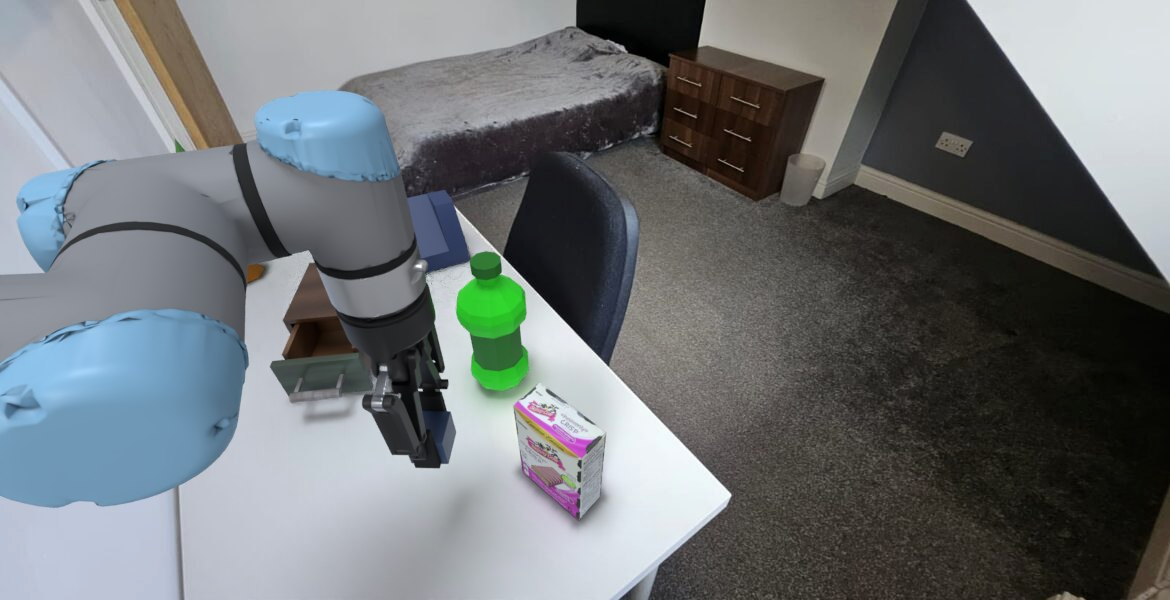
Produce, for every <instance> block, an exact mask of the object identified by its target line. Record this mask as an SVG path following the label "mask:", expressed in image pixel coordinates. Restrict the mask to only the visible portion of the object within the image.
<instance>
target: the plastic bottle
mask: <svg viewBox="0 0 1170 600" xmlns="http://www.w3.org/2000/svg"><path fill="white" fill-rule="evenodd" d="M469 259H470V261H469V267H470V273H471V276H472V277H474V278H472V279H471V280H470V281H468V282H467V283H466V284H465V285H464V286H463V287H462V288H460V289H459V291H458V293H457V298H456V306H455V307H456V308H455V314H456V318H457V320H458V323H459V324H460V326H462V327H463V328H464V329H465V330H466V331H467V332H468V333H469V337H470V343H471V348H472V353H471V354H472V355H471V358H470V359H471V360H470V372H471V376H472V377H473V378H474V379H475V380H476V381H477V382H478V383H479V384H480V385H481V386H482V387H483V388H484V389H487V390H493V391H501V392H503V391H507V390H509V389H512V388H515V387H516V386H518V385H520V383H521V382H522V381H523V379H524V378H525V377H526V376H527V375H528V373H529V371H530V363H529V362H530V359H529V351H528V349H527V348H526V347H525V346H524V345H523V344H522V343H523V342H522V333H521V325H522V324H523V323H524V321H525V320H526V318H527V313H528V311H527V300H526V299H527V298H526V291H525V290H524V288H523V287H522V286H521V285H520V284H519V283H517V282H516V281H515V280H514V279H513V278H511V277H509V276H506V275H503V274H502V272H503V271H502V270H503V266H502V259H501V255H499V254H498V253H496V252H495V251H487V250H484V251H480V252H477V253H475V254H474V255H473V256H471V257H469Z"/></svg>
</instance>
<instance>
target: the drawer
mask: <svg viewBox="0 0 1170 600" xmlns="http://www.w3.org/2000/svg"><path fill="white" fill-rule="evenodd" d="M281 356H282V357H283V359H279V360H272V361H271V362H270V365H269V368H270V370H271V371H272V373H273V375H274V376H275V378H276V379H277V381H278V383H279V384H280V386H281V387H282V389H283V391H284V392H285V394H286V395H287V396H288V400H289V402H290V403H291V404H293V403H295V404H296V403H302V402H313V401H322V400H330V399H339V398H340V399H341V398H342V397H343V394H351V393H359V392H369V391H373V389H374V382H373V380H372V378H371V373H372V371H371V361H370V357H369V356H368V355H366V354H365V353H364V352H362V351H361V350H359V349H357V348H356V347H355V346H353V345H352V344H351V343H350V341H349V340H348V338H347V336H346V333H345V331H344V329H343V326H342V324H341V322H340V320H339V319H338V320H327V321H316V322H304V323H295V325H294V327H293V330H292V332H291V334H290V333H289V336H288V339H287V341H286V343H285V346H284V348H283V351H282V353H281Z"/></svg>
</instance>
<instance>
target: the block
mask: <svg viewBox="0 0 1170 600" xmlns="http://www.w3.org/2000/svg"><path fill="white" fill-rule="evenodd" d="M422 413H423V418H424V424H425V429H430V430H431V433H432V436H433V439H434V442H435V445H436V448H437V451H438V454H439V457H440V460H441V465H449V463H450V460H451V456H452V452H453V447H454V445H455V444H454V442H455V440H456V435H457V429H456V426H455V422H454V419H453V418H454V417H453V415H452V411H449V410H447V411H422ZM407 456H408V458H409V460H410V461H409V462H410V463H411V464H414V463H413V460H412V459H411V458H410V455H407Z"/></svg>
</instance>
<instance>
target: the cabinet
mask: <svg viewBox="0 0 1170 600" xmlns="http://www.w3.org/2000/svg"><path fill="white" fill-rule="evenodd" d="M338 319H339V317H338V315H337V312H336V308H335V307H334V306H333V305H332V304H331V301H330V299H329V296H328V294H327V291H326V289H325V287H324V284H323V282H322V279H321V277H320V275H319V272H318V270H317V267H316V265H315V262H309V263H308V265H307V267H306V269H305V271H304V274H303V276H302V278H301V280H300V282H299V284H298V286H297V289H296V290H295V292H294V295H293V297H292V299H291V302H290V303H289V306H288V308H287V310H286V312H285V314H284V316H283V319H282V323H283V324H284V326H285V327H286V329H287V331H288V333H289V335H290V334H291V332H292V330H293V327H294V325H295V323H304V322H316V321H327V320H338Z"/></svg>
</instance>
